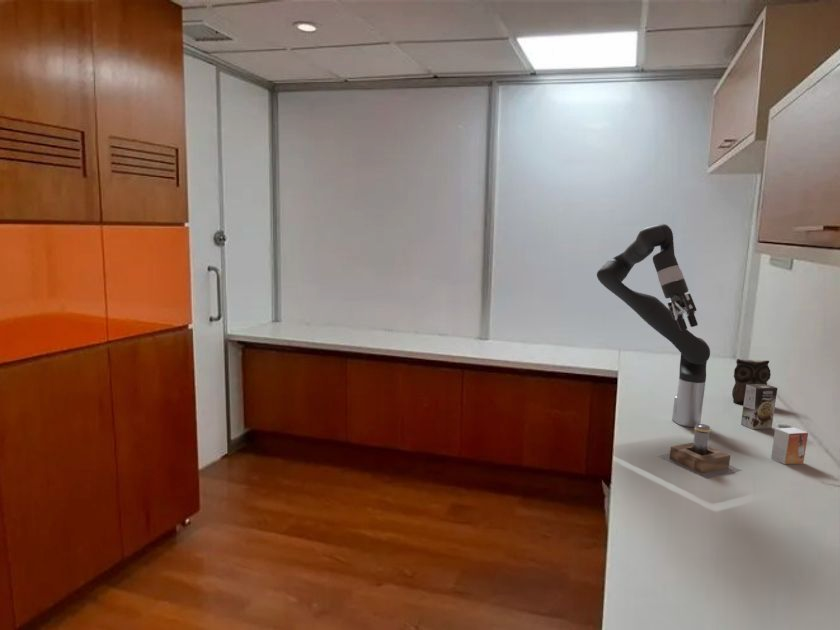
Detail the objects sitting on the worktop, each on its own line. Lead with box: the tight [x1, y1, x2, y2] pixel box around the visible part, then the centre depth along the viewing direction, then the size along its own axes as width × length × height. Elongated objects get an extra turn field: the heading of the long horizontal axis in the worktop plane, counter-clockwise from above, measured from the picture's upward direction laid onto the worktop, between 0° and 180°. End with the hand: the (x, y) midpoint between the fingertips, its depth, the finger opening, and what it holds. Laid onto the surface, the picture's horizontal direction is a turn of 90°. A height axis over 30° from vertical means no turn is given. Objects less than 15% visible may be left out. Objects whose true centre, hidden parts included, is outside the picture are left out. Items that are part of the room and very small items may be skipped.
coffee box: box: [740, 384, 778, 430], centre depth 231 cm, size 9×6×16 cm
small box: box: [770, 427, 809, 465], centre depth 197 cm, size 8×6×10 cm
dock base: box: [657, 453, 742, 479], centre depth 188 cm, size 18×16×2 cm
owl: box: [731, 358, 771, 406], centre depth 262 cm, size 13×13×20 cm
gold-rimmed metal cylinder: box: [692, 423, 711, 455], centre depth 187 cm, size 4×4×12 cm
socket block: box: [669, 442, 731, 473], centre depth 188 cm, size 12×12×4 cm
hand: (689, 328), depth 198 cm, fingers open, 8 cm apart
